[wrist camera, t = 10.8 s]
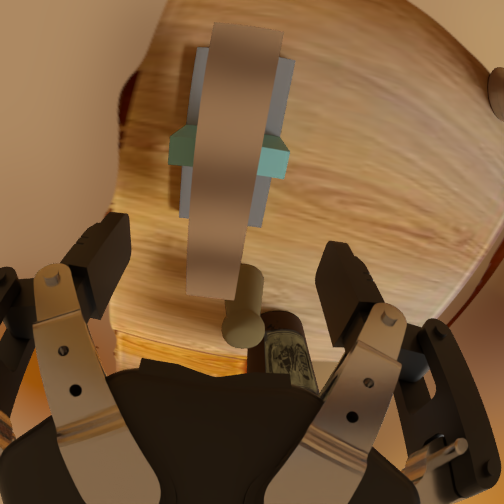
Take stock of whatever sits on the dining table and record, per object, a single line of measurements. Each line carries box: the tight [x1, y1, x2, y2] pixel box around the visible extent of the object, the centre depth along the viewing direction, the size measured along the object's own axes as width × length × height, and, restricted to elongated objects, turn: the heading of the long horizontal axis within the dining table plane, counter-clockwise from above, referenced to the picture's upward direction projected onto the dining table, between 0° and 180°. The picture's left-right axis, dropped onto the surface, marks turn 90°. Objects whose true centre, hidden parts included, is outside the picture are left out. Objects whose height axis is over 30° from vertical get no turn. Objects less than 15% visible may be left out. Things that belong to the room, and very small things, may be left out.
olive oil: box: [247, 311, 319, 396], centre depth 36 cm, size 11×11×25 cm
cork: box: [222, 264, 265, 349], centre depth 36 cm, size 6×6×11 cm
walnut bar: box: [186, 22, 284, 300], centre depth 20 cm, size 20×4×6 cm, turn 170°
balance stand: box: [168, 47, 295, 228], centre depth 26 cm, size 20×10×8 cm, turn 170°
